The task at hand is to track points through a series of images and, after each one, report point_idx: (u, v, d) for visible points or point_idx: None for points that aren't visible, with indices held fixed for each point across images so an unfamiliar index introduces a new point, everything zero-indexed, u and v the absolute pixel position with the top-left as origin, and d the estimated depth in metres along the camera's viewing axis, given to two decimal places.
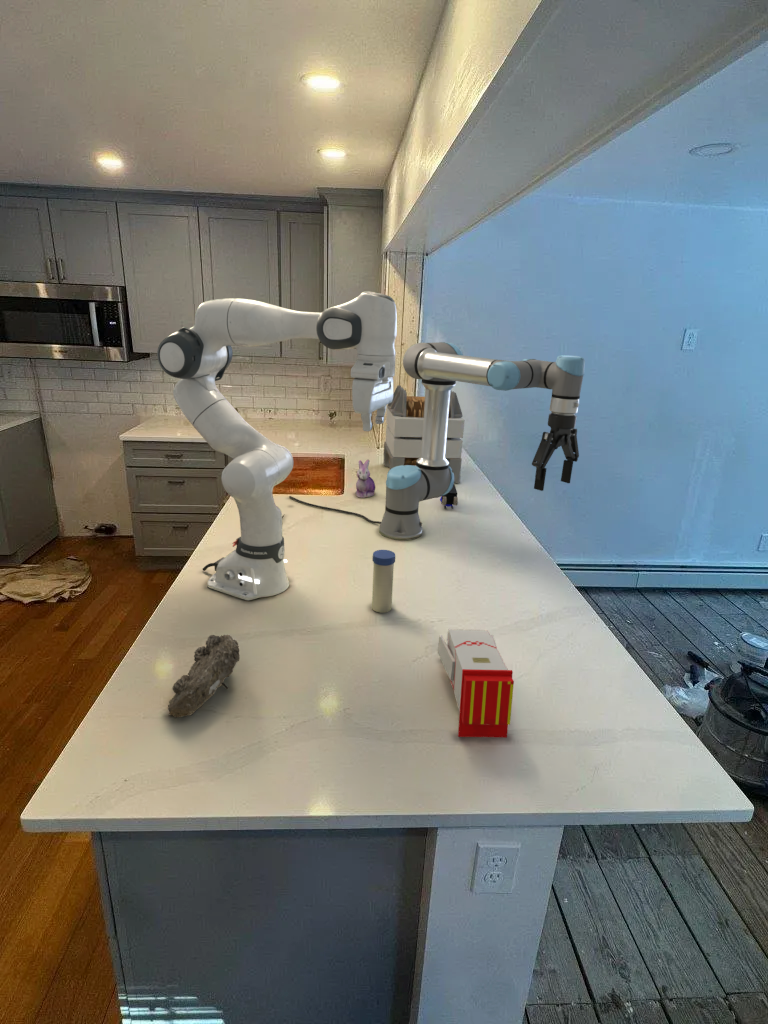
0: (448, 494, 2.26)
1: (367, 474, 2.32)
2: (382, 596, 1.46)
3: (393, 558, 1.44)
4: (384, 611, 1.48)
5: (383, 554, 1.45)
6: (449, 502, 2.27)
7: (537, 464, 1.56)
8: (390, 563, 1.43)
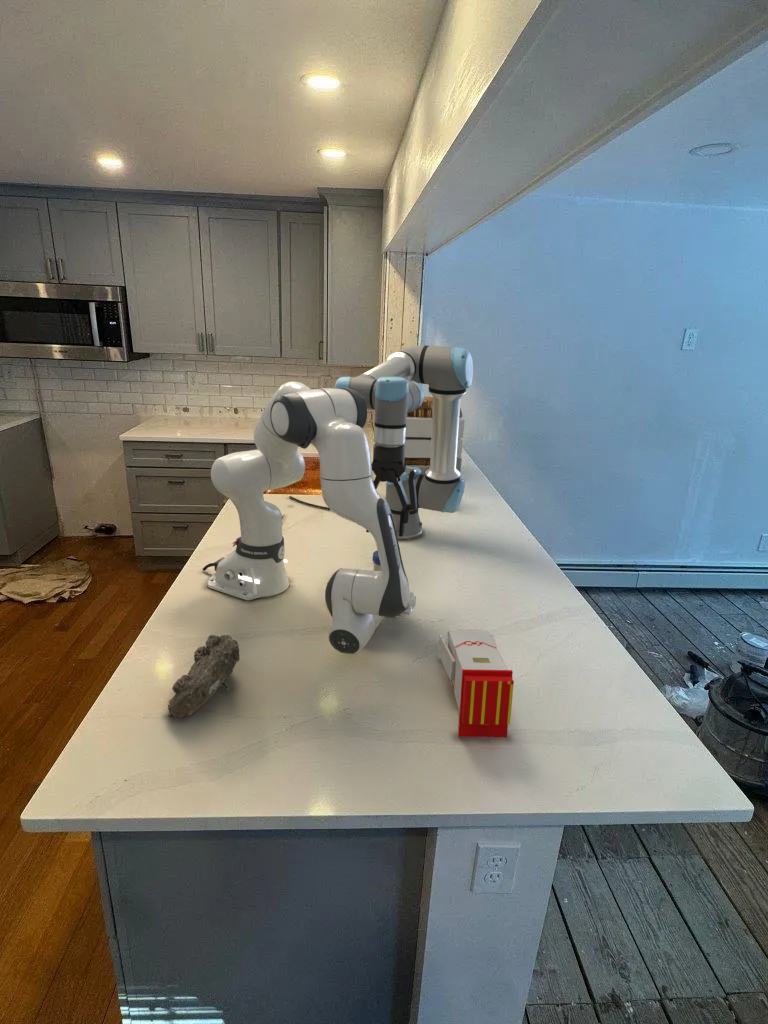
0: None
1: None
2: None
3: None
4: None
5: None
6: None
7: (416, 505, 1.39)
8: None
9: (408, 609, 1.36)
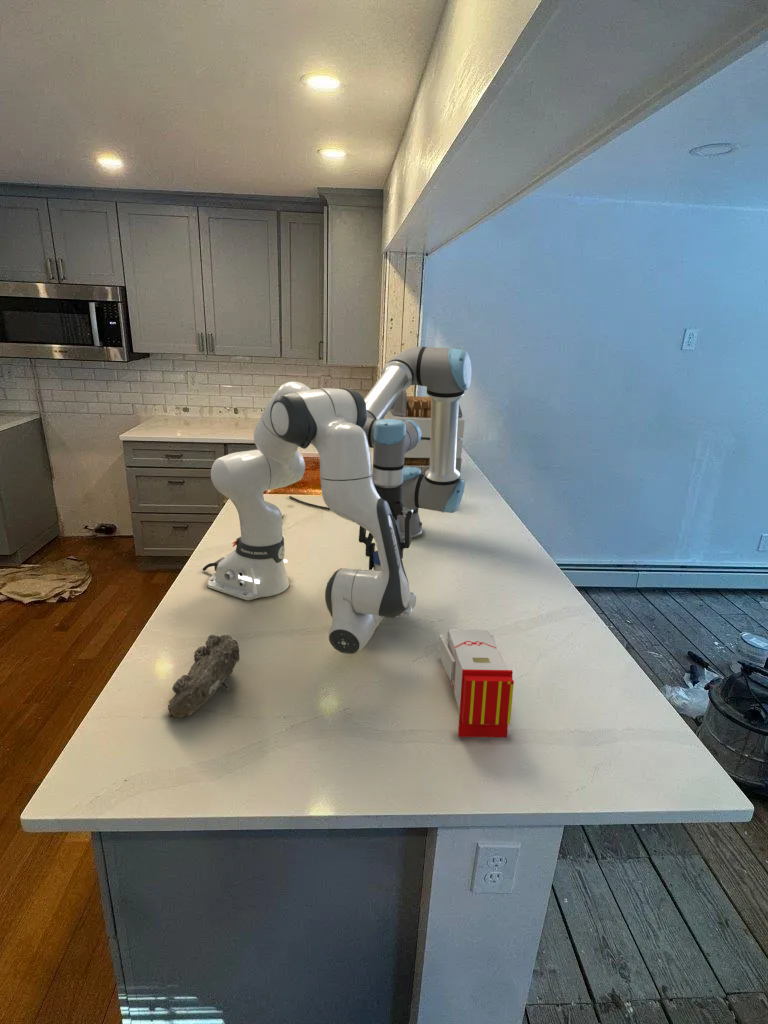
0: None
1: None
2: None
3: None
4: None
5: None
6: None
7: (410, 543, 1.43)
8: None
9: (408, 609, 1.36)
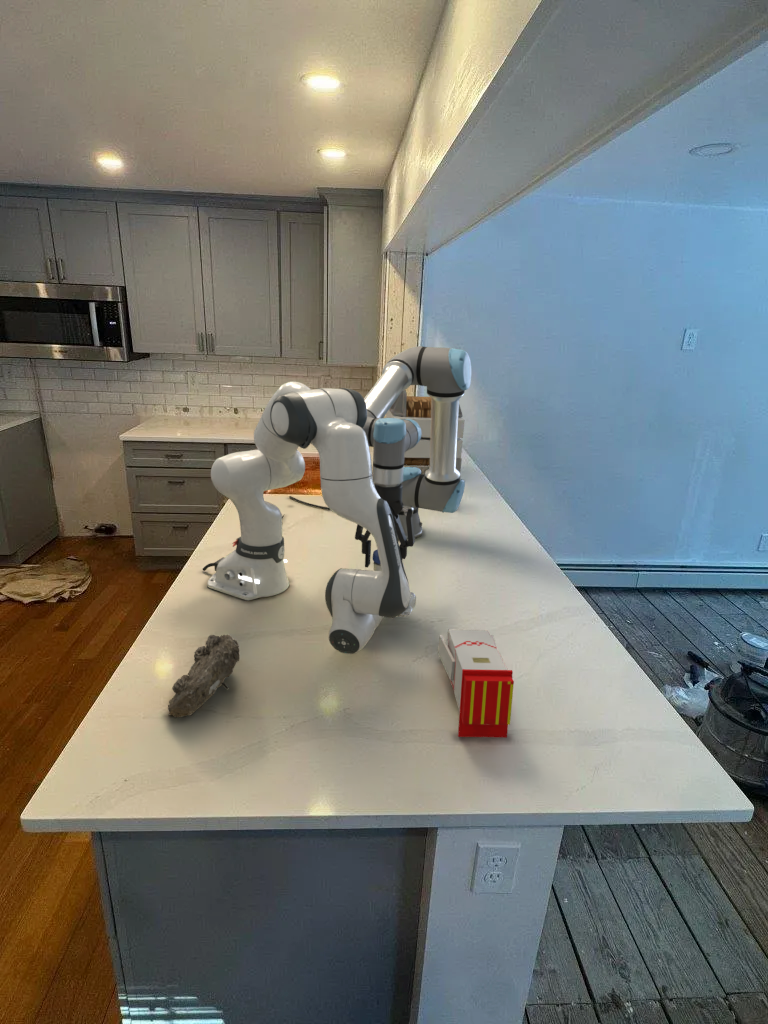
0: None
1: None
2: None
3: None
4: None
5: None
6: None
7: (414, 541, 1.43)
8: None
9: (408, 608, 1.36)
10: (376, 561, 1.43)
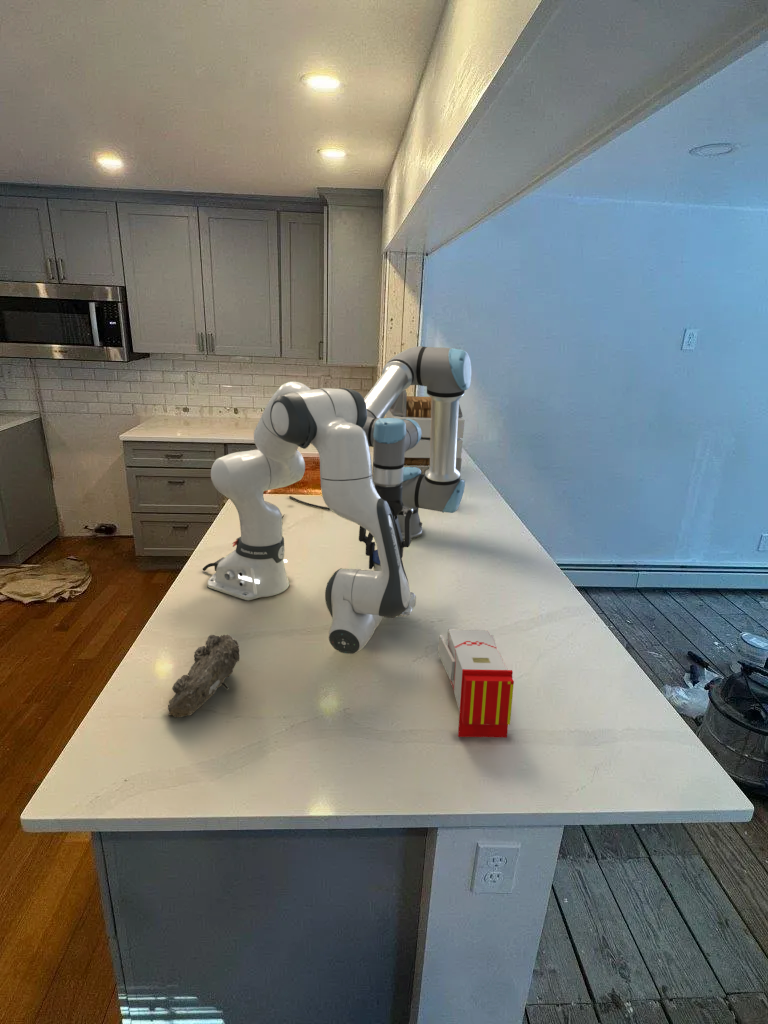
0: None
1: None
2: None
3: None
4: None
5: None
6: None
7: (410, 542, 1.43)
8: None
9: (408, 608, 1.36)
10: (376, 561, 1.43)
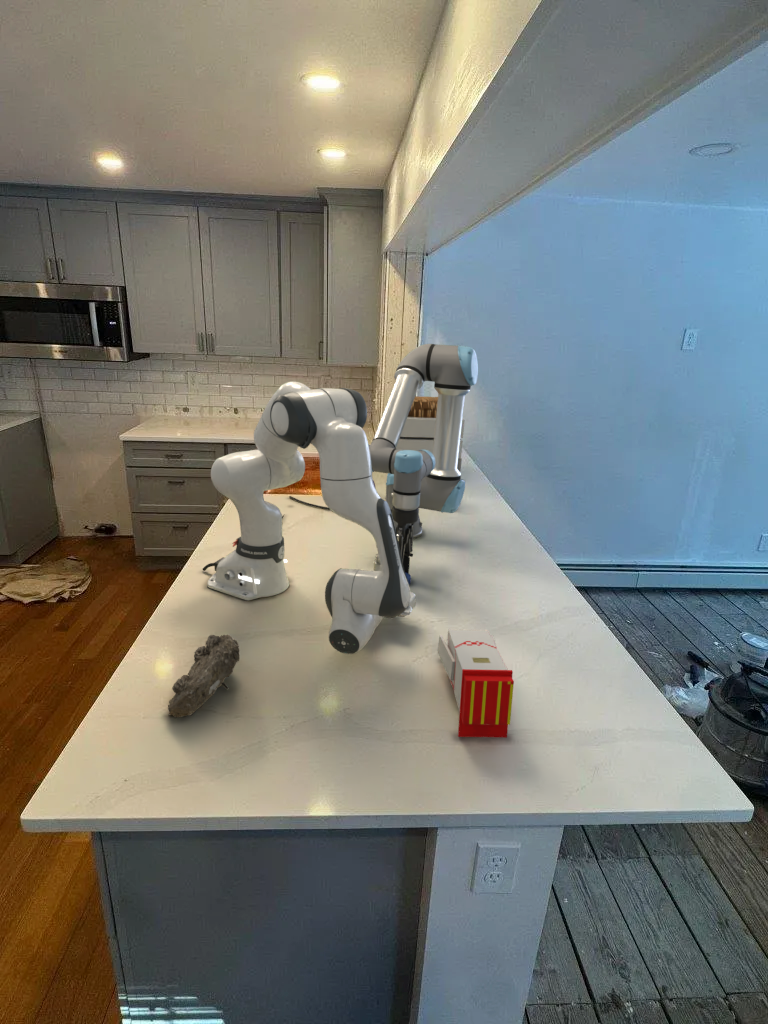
0: None
1: None
2: None
3: None
4: None
5: None
6: None
7: None
8: None
9: (408, 609, 1.36)
10: None
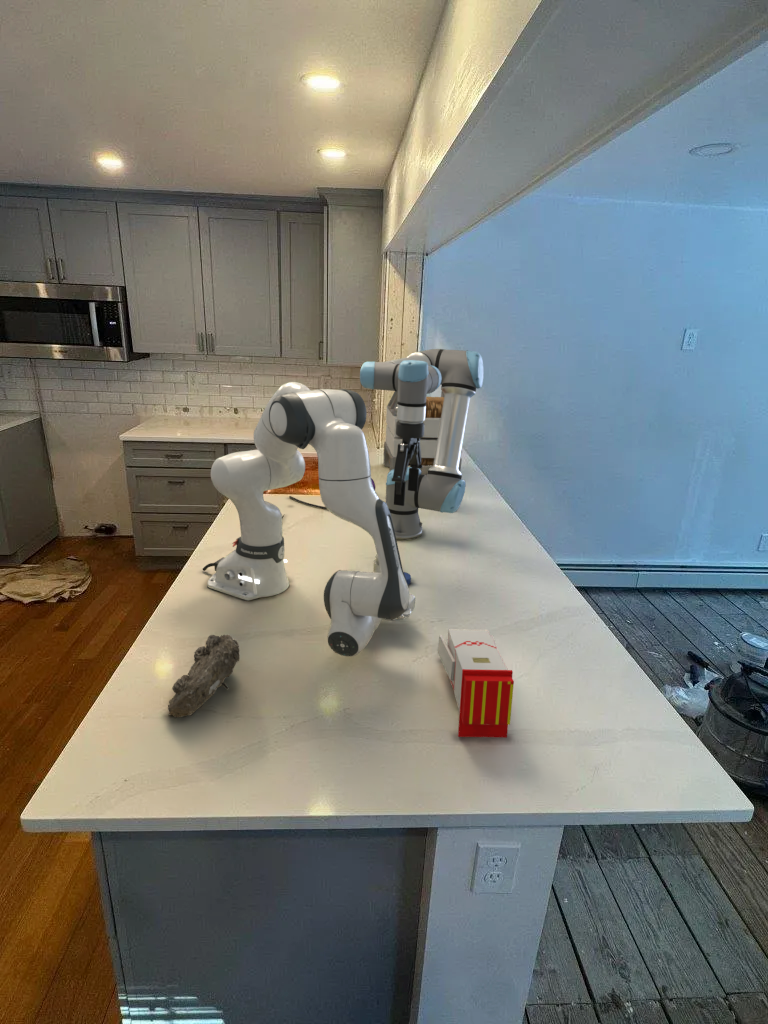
0: None
1: None
2: None
3: None
4: None
5: None
6: None
7: None
8: None
9: (407, 610, 1.35)
10: (407, 583, 1.63)
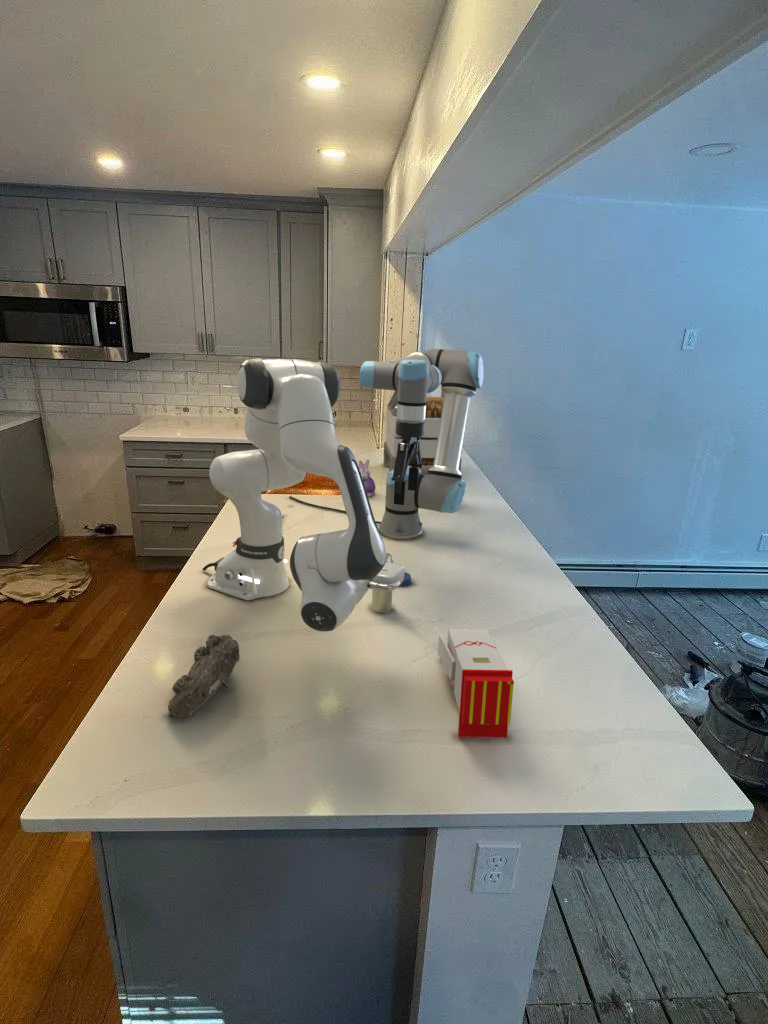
0: None
1: (367, 474, 2.32)
2: (382, 596, 1.46)
3: None
4: (384, 611, 1.48)
5: None
6: None
7: None
8: None
9: (395, 582, 1.19)
10: (407, 583, 1.63)
